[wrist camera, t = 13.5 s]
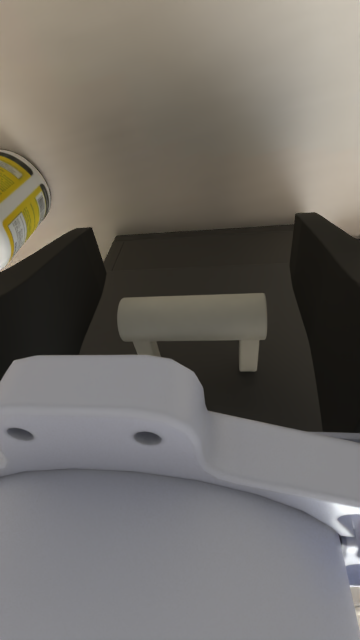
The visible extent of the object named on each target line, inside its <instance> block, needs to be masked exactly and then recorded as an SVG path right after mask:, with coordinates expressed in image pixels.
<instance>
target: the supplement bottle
mask: <svg viewBox="0 0 360 640" xmlns="http://www.w3.org/2000/svg"><path fill="white" fill-rule="evenodd" d="M50 203H51V198H50V192H49V189H48V186H47V184H46V182H45V180H44V178H43V177H42V175H41V174H40V173H39V171H38V170H37V169H36V168H35V167H34V166H33V165H32V164H31V163H30V162H28V161H27V160H26V159H25V158H23V157H22V156H20V155H18V154H16V153H13V152H11V151H6V150H0V270H1V269H3V268H4V267H5V266H6V265H7V264H8V262H9V261H10V260H11V259H12V257H13V256H14V255H15V254H16V253H17V251H18V250H19V249H20V248H21V246H22V245H23V244H24V243H25V242H26V240H27V239H28V238H29V237H30V235H31V234H32V233H33V232H34V230H35V229H36V228H37V227H38V225H39V224H40V223H41V222H42V220H43V219H44V218H45V217H46V215H47V213H48V211H49V209H50Z"/></svg>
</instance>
